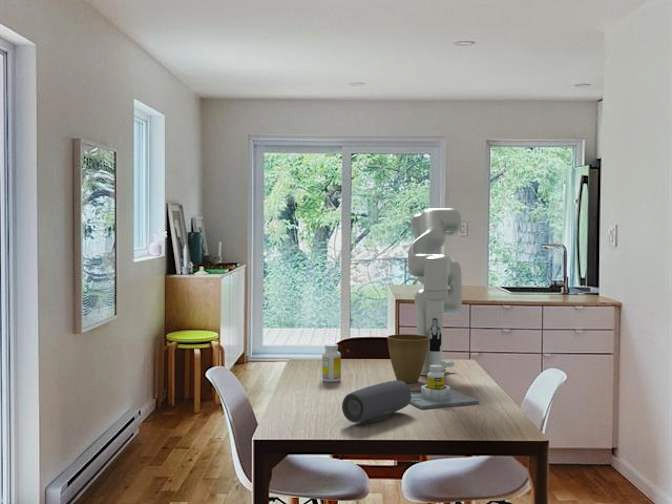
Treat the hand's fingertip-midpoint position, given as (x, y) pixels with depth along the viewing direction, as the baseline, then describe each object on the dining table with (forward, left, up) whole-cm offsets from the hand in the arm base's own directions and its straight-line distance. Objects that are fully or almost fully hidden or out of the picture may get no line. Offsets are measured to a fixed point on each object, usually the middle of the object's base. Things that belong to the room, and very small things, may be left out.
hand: (435, 348), depth 250 cm
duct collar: (0, +1, -16) cm, 16 cm away
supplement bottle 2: (0, 0, -16) cm, 16 cm away
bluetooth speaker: (+27, +17, -17) cm, 36 cm away
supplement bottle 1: (+21, -39, -17) cm, 48 cm away
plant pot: (-4, -28, -17) cm, 33 cm away
